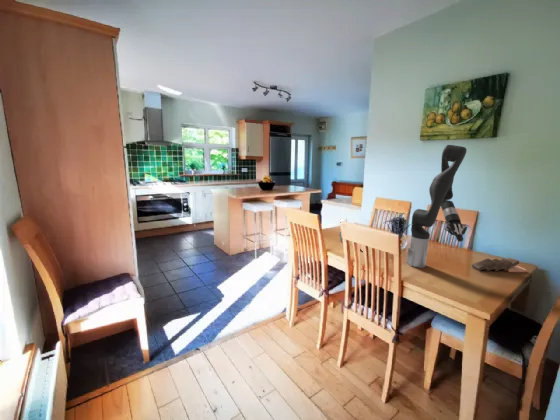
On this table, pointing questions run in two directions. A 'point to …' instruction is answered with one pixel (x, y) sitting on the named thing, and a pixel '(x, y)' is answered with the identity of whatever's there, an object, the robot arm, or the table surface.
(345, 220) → the ink box
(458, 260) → the table surface
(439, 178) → the robot arm
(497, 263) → the domino
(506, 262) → the domino
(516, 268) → the domino
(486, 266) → the domino
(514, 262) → the domino
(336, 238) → the table surface
